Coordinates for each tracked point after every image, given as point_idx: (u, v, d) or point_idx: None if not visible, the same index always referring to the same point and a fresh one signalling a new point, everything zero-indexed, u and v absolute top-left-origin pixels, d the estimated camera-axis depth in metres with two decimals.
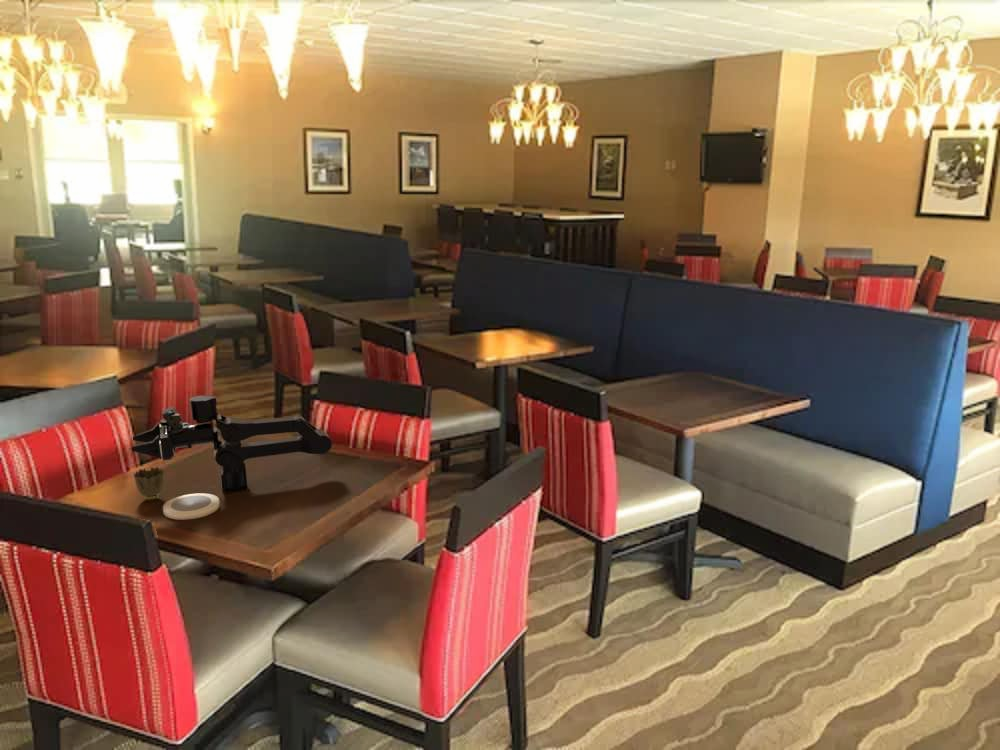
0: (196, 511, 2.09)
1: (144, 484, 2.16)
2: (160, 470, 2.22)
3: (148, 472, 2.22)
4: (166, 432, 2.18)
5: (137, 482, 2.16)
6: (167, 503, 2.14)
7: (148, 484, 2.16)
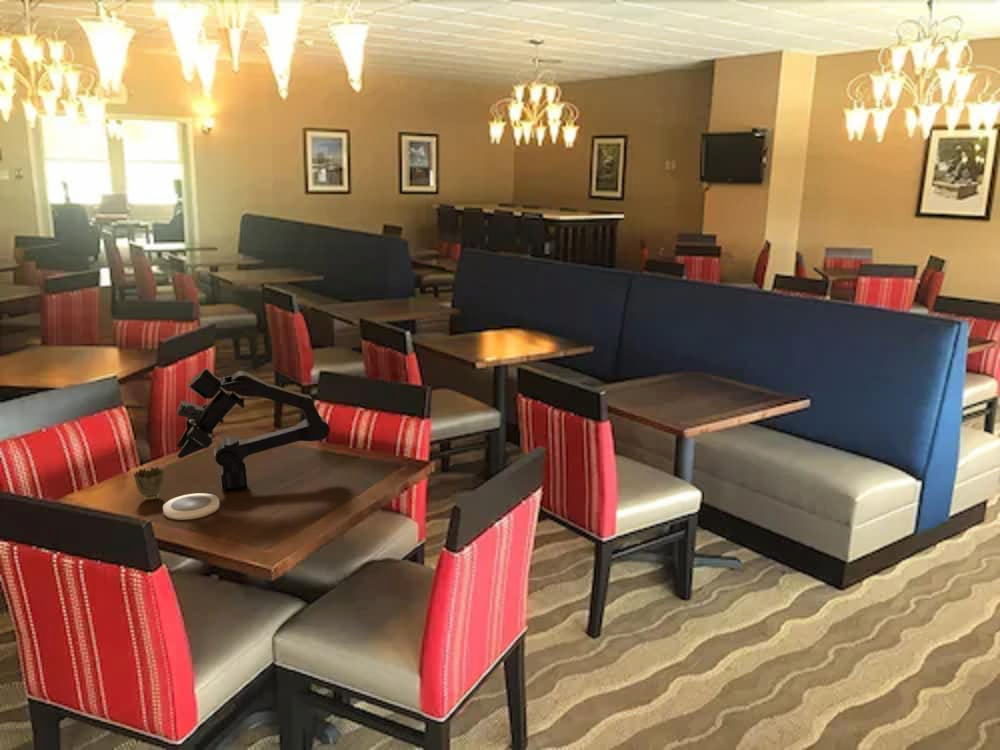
0: (196, 511, 2.09)
1: (144, 484, 2.16)
2: (160, 470, 2.22)
3: (148, 472, 2.22)
4: (195, 424, 2.21)
5: (137, 482, 2.16)
6: (167, 503, 2.14)
7: (148, 484, 2.16)
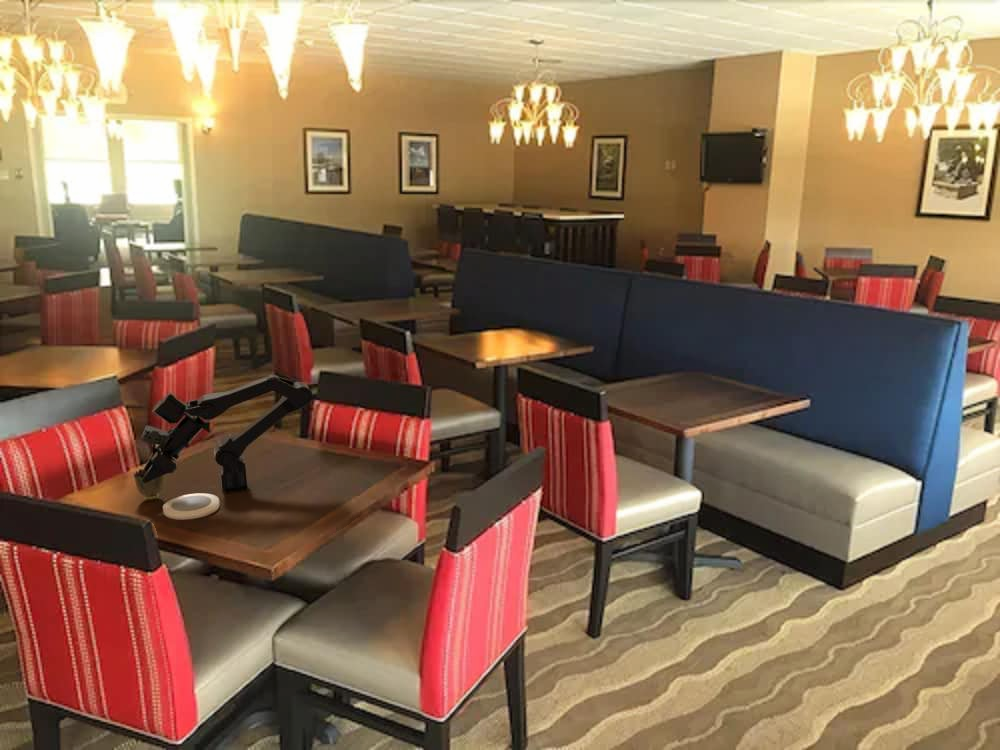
0: (196, 511, 2.09)
1: (144, 484, 2.16)
2: None
3: None
4: (160, 449, 2.18)
5: (137, 482, 2.16)
6: (167, 503, 2.14)
7: (148, 484, 2.16)
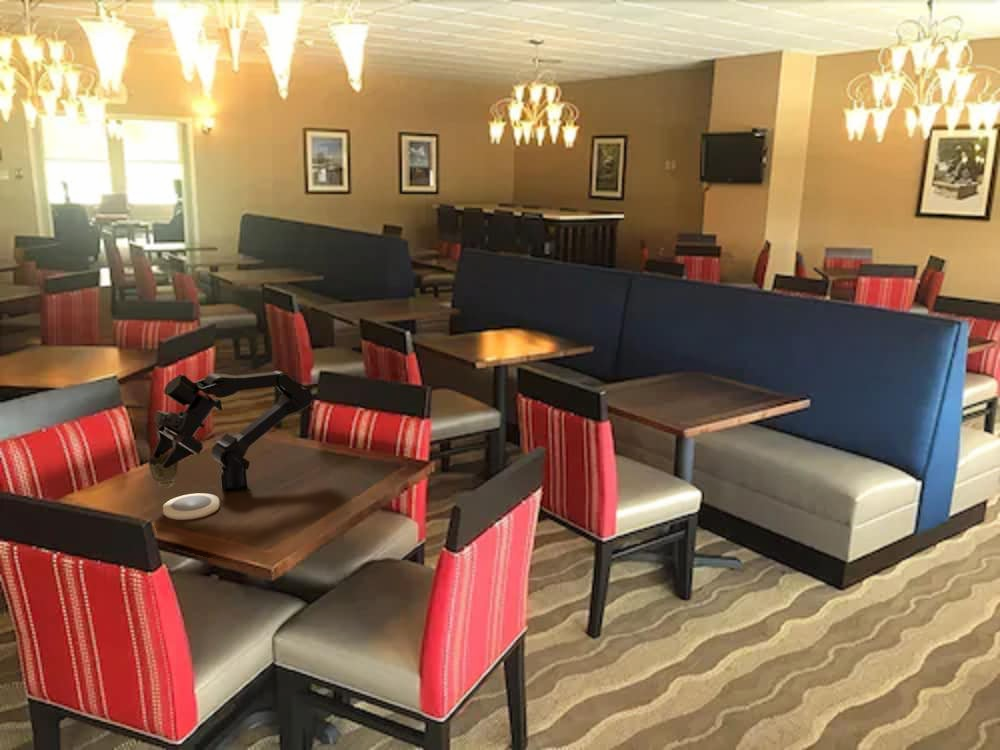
0: (196, 511, 2.09)
1: (164, 470, 2.10)
2: None
3: (158, 459, 2.15)
4: (175, 433, 2.13)
5: (155, 469, 2.10)
6: (167, 503, 2.14)
7: (168, 470, 2.11)
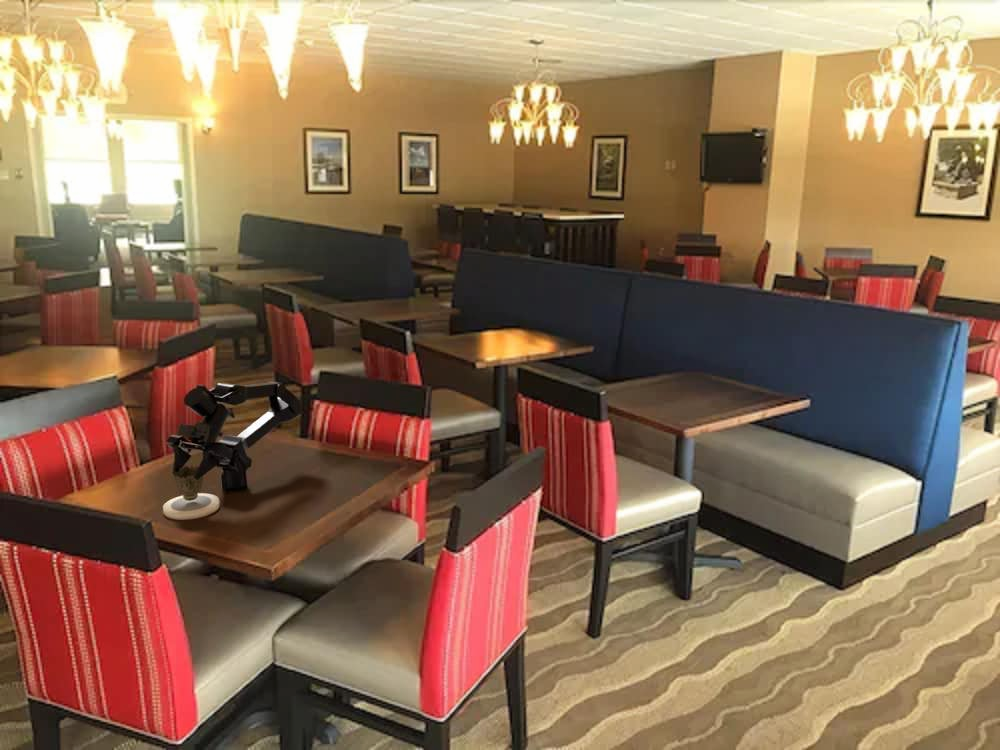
0: (196, 511, 2.09)
1: (194, 482, 2.10)
2: (191, 468, 2.15)
3: (178, 473, 2.13)
4: (198, 444, 2.13)
5: (185, 482, 2.09)
6: (167, 503, 2.14)
7: (198, 481, 2.11)
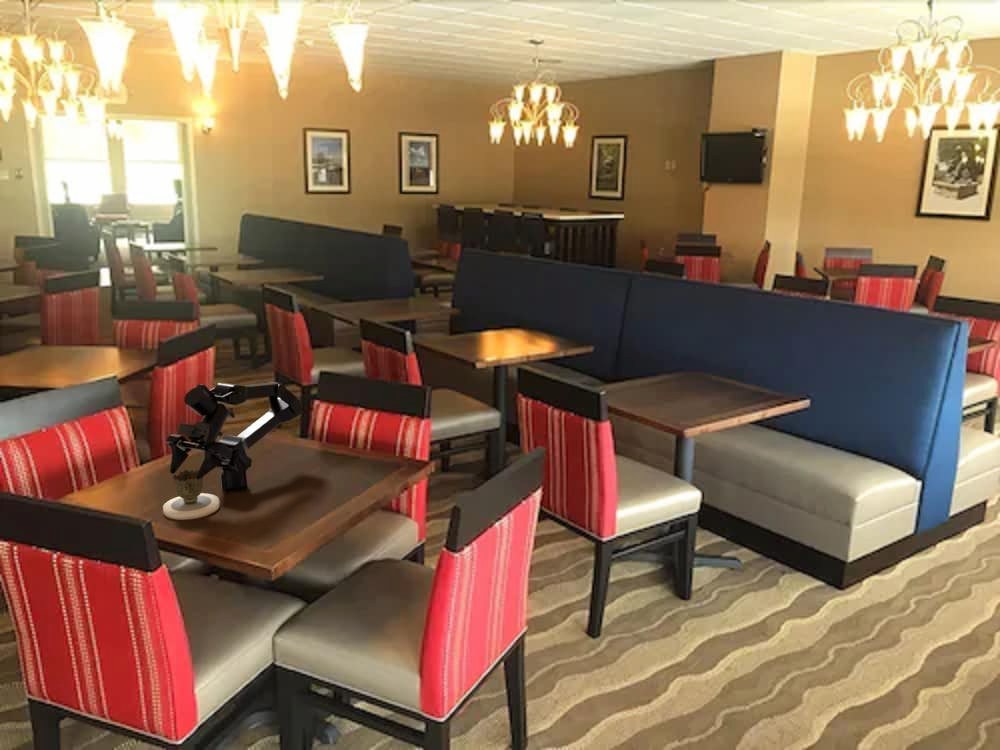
0: (196, 511, 2.09)
1: (194, 485, 2.10)
2: (191, 471, 2.16)
3: (178, 477, 2.14)
4: (195, 443, 2.13)
5: (185, 486, 2.09)
6: (167, 503, 2.14)
7: (198, 485, 2.11)
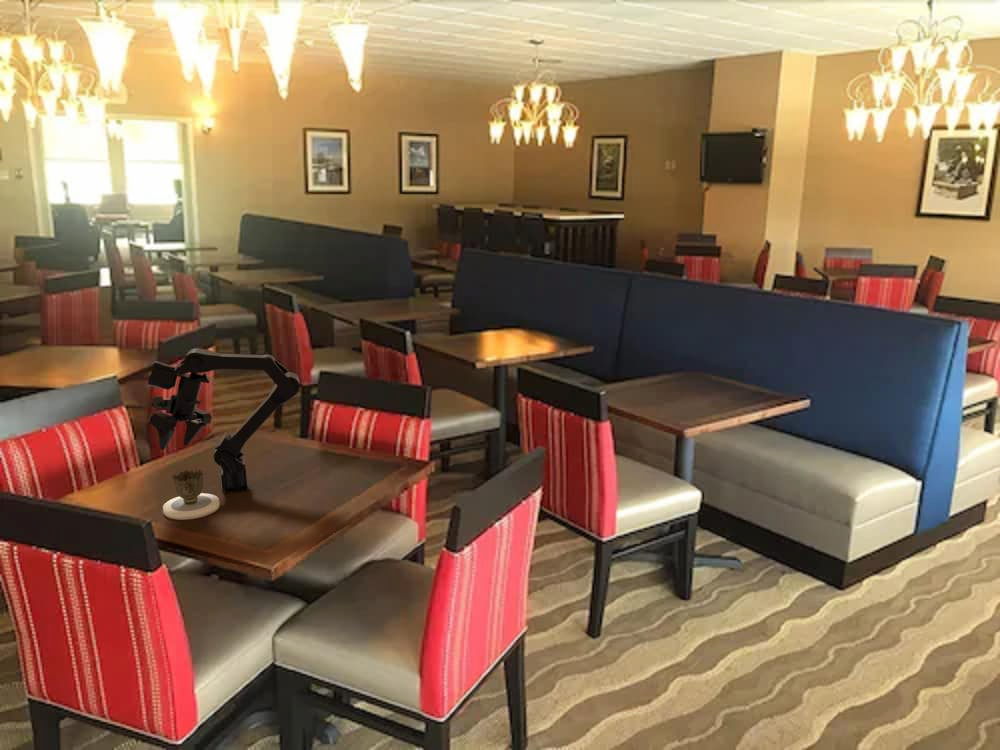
0: (196, 511, 2.09)
1: (194, 485, 2.10)
2: (191, 472, 2.16)
3: (178, 477, 2.14)
4: None
5: (185, 486, 2.09)
6: (167, 503, 2.14)
7: (197, 484, 2.11)
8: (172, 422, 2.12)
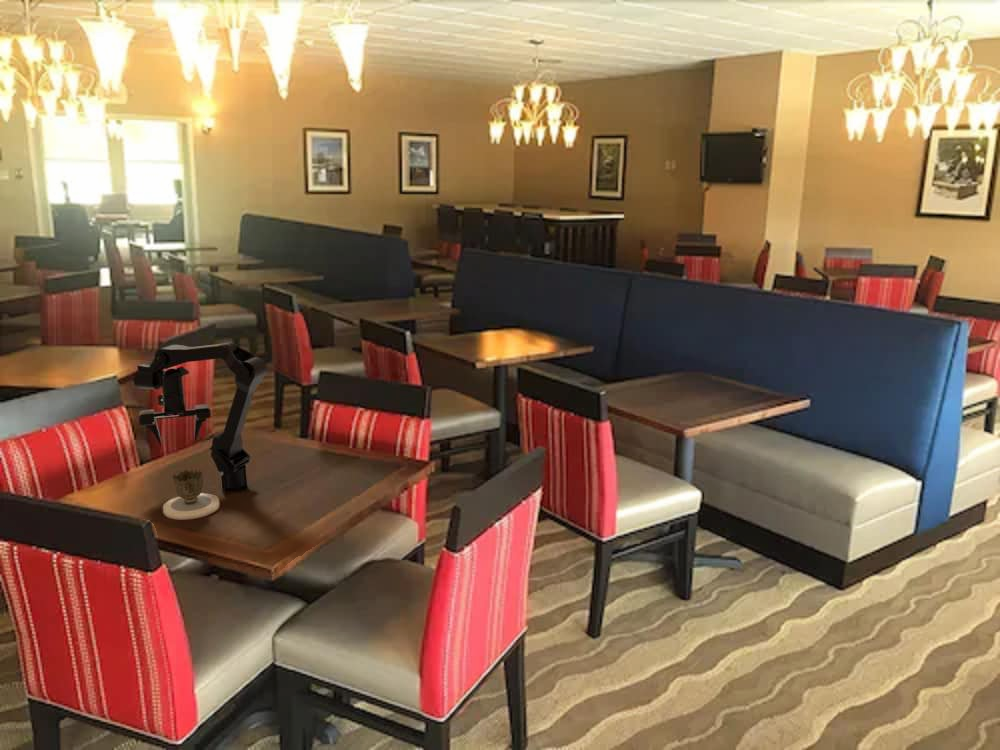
0: (196, 511, 2.09)
1: (194, 485, 2.10)
2: (191, 472, 2.16)
3: (178, 477, 2.14)
4: None
5: (185, 486, 2.09)
6: (167, 503, 2.14)
7: (197, 484, 2.11)
8: (147, 417, 2.22)
